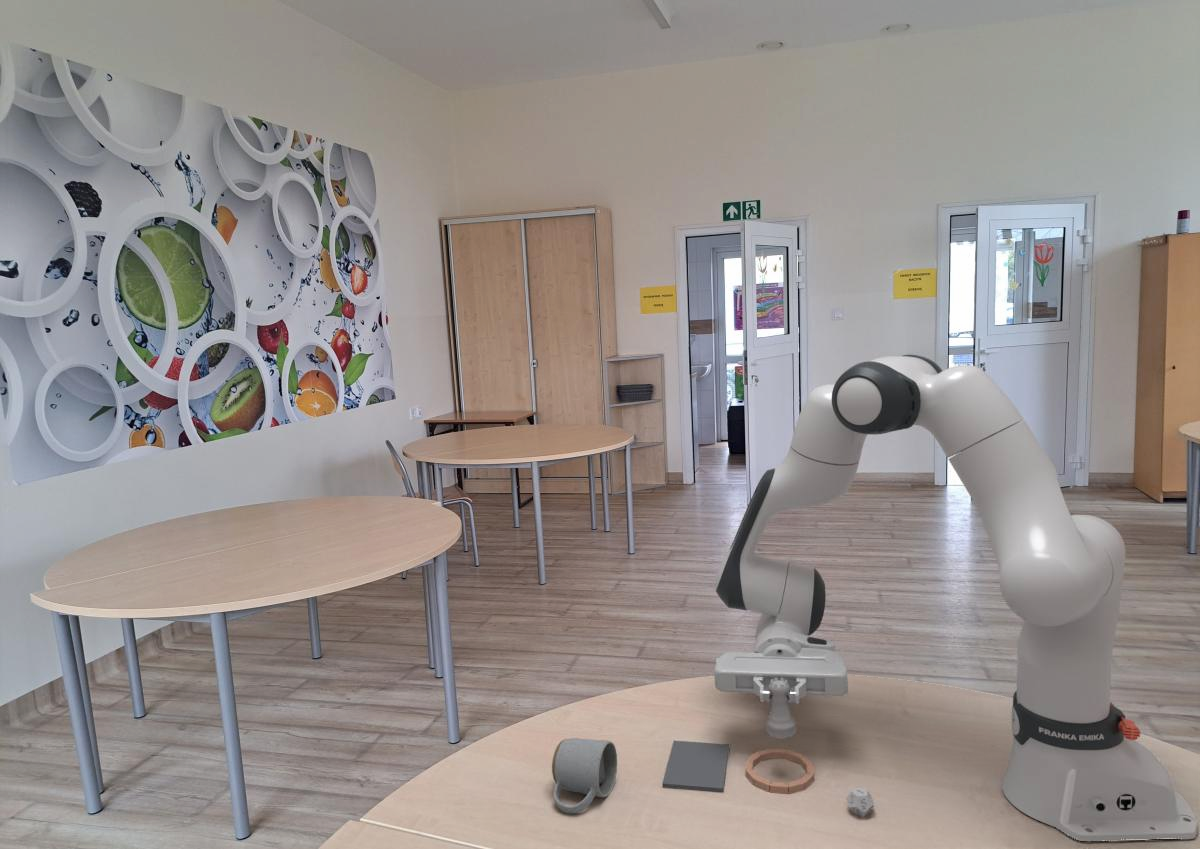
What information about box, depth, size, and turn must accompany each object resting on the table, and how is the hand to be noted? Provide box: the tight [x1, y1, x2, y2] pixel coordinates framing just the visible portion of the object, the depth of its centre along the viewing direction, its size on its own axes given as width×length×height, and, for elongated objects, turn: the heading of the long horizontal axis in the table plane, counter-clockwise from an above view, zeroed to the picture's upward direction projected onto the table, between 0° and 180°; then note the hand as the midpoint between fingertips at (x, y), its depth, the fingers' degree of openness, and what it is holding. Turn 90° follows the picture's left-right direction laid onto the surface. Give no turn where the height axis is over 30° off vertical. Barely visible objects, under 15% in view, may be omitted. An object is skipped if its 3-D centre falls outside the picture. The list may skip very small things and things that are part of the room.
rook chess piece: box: [765, 678, 797, 739], centre depth 119 cm, size 4×4×8 cm
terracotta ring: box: [745, 748, 815, 794], centre depth 121 cm, size 10×10×1 cm
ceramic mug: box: [551, 737, 618, 815], centre depth 118 cm, size 11×8×8 cm
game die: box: [845, 786, 875, 818], centre depth 111 cm, size 4×4×3 cm
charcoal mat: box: [661, 740, 730, 793], centre depth 124 cm, size 9×12×1 cm
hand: (779, 698), depth 118 cm, fingers closed on rook chess piece, 3 cm apart
